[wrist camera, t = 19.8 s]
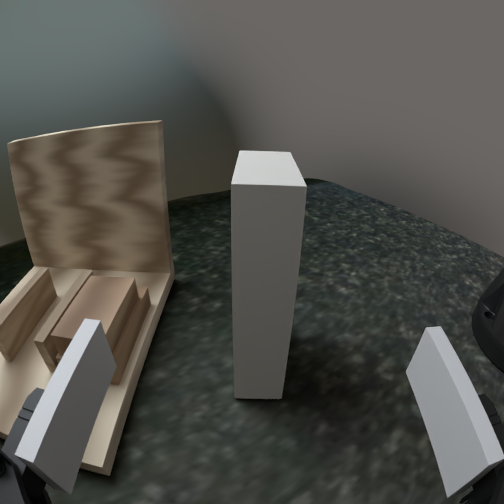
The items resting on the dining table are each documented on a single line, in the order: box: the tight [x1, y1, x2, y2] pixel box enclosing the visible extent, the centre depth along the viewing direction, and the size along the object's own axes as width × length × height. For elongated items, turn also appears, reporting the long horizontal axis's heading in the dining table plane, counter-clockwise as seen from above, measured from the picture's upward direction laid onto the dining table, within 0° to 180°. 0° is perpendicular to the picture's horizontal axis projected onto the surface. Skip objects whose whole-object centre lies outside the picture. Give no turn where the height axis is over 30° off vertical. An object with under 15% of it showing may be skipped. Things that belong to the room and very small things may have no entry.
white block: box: [231, 151, 307, 399], centre depth 22 cm, size 4×8×16 cm, turn 179°
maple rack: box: [0, 120, 175, 476], centre depth 22 cm, size 19×24×18 cm
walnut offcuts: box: [51, 276, 151, 385], centre depth 25 cm, size 5×10×4 cm, turn 179°
